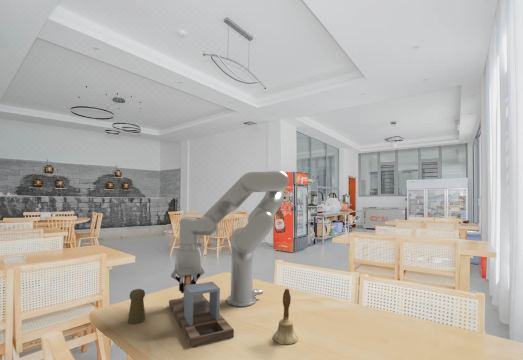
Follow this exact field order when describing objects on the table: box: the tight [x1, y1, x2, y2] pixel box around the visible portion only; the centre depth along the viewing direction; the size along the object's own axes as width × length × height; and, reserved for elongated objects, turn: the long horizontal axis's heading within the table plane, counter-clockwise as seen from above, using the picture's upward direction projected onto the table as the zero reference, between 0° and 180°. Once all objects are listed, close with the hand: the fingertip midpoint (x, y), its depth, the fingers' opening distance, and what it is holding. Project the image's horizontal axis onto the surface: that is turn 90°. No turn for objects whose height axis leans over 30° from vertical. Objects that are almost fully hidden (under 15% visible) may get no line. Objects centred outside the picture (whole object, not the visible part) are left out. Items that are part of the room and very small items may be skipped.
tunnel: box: [183, 281, 221, 326], centre depth 105 cm, size 8×10×11 cm
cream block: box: [193, 294, 204, 311], centre depth 113 cm, size 5×5×6 cm
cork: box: [127, 288, 146, 325], centre depth 108 cm, size 6×6×11 cm
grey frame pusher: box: [181, 275, 206, 311], centre depth 117 cm, size 15×7×10 cm, turn 28°
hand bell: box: [272, 288, 299, 345], centre depth 97 cm, size 8×8×16 cm
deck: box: [168, 295, 235, 348], centre depth 109 cm, size 35×14×2 cm, turn 28°
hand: (187, 290), depth 122 cm, fingers open, 4 cm apart
